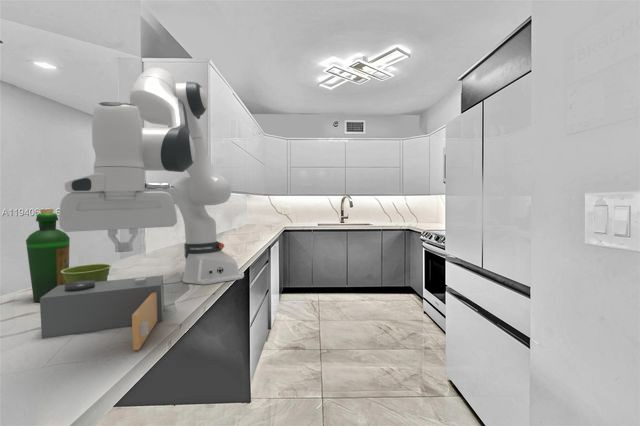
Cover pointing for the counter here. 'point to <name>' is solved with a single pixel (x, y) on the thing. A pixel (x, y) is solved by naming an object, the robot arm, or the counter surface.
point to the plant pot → (86, 273)
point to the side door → (144, 320)
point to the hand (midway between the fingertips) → (124, 251)
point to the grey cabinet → (96, 304)
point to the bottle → (47, 254)
